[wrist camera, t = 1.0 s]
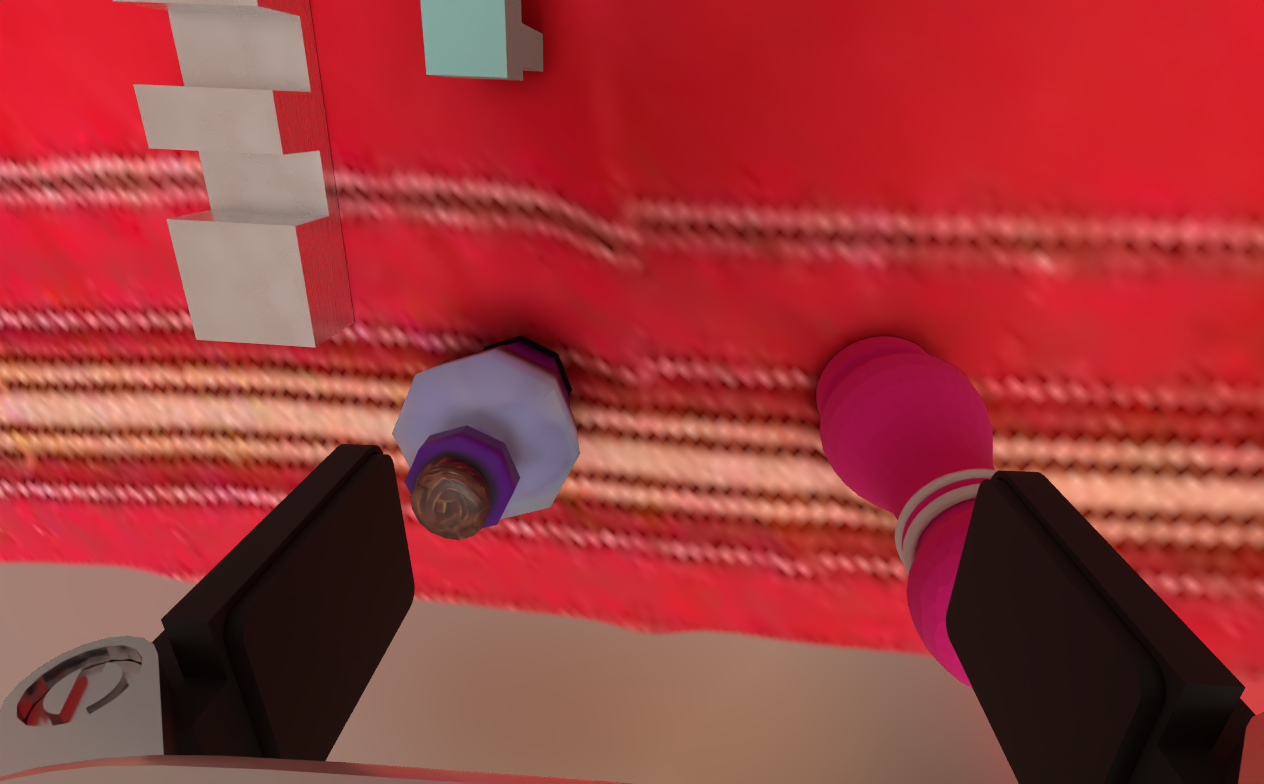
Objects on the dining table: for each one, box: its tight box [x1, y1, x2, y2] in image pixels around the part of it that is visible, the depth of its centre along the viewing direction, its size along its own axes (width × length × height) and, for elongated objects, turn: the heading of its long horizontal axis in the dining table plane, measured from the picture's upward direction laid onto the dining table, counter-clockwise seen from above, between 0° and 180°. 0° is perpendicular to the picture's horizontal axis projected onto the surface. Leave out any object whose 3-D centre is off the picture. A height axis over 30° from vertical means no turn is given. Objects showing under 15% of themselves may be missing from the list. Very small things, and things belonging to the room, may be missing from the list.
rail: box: [113, 0, 354, 347], centre depth 29 cm, size 20×6×4 cm, turn 178°
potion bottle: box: [392, 336, 580, 540], centre depth 30 cm, size 9×9×12 cm
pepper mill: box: [816, 336, 998, 688], centre depth 25 cm, size 7×7×20 cm
